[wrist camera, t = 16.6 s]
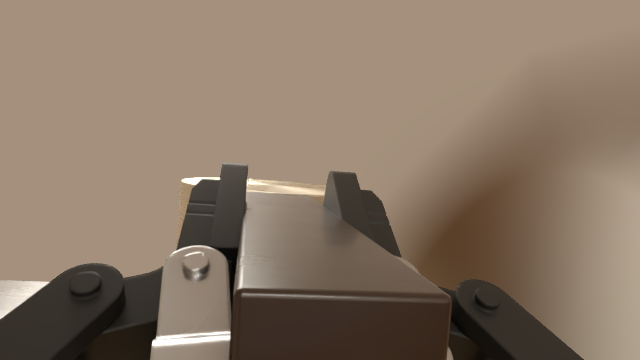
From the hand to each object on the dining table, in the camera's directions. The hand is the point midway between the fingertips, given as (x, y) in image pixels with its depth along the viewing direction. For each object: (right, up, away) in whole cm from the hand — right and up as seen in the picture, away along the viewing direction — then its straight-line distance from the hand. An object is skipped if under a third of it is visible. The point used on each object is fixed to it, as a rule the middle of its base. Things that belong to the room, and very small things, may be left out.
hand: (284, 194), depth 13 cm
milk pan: (-1, -5, +2) cm, 5 cm away
